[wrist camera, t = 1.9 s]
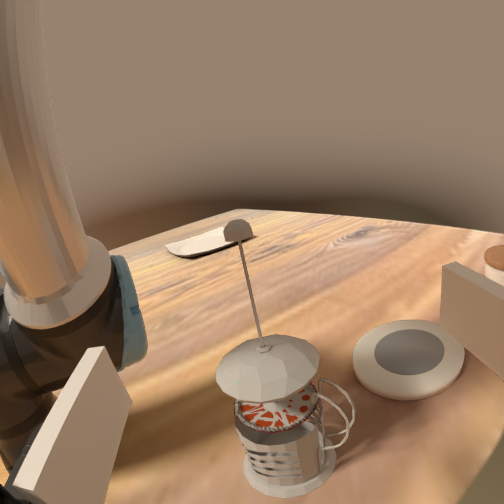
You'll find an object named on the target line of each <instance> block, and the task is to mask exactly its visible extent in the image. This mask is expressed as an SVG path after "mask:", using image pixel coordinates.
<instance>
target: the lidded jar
mask: <svg viewBox="0 0 504 504" xmlns="http://www.w3.org/2000/svg"><path fill="white" fill-rule="evenodd" d="M484 259H485V268H484V270H485V277H487V278H489V279H491V280H493V281H495V282H497V283H498V284H500V285H502V286H504V245H499V246H494V247H491V248H489V249H487V250H486V252H485V257H484Z"/></svg>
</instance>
